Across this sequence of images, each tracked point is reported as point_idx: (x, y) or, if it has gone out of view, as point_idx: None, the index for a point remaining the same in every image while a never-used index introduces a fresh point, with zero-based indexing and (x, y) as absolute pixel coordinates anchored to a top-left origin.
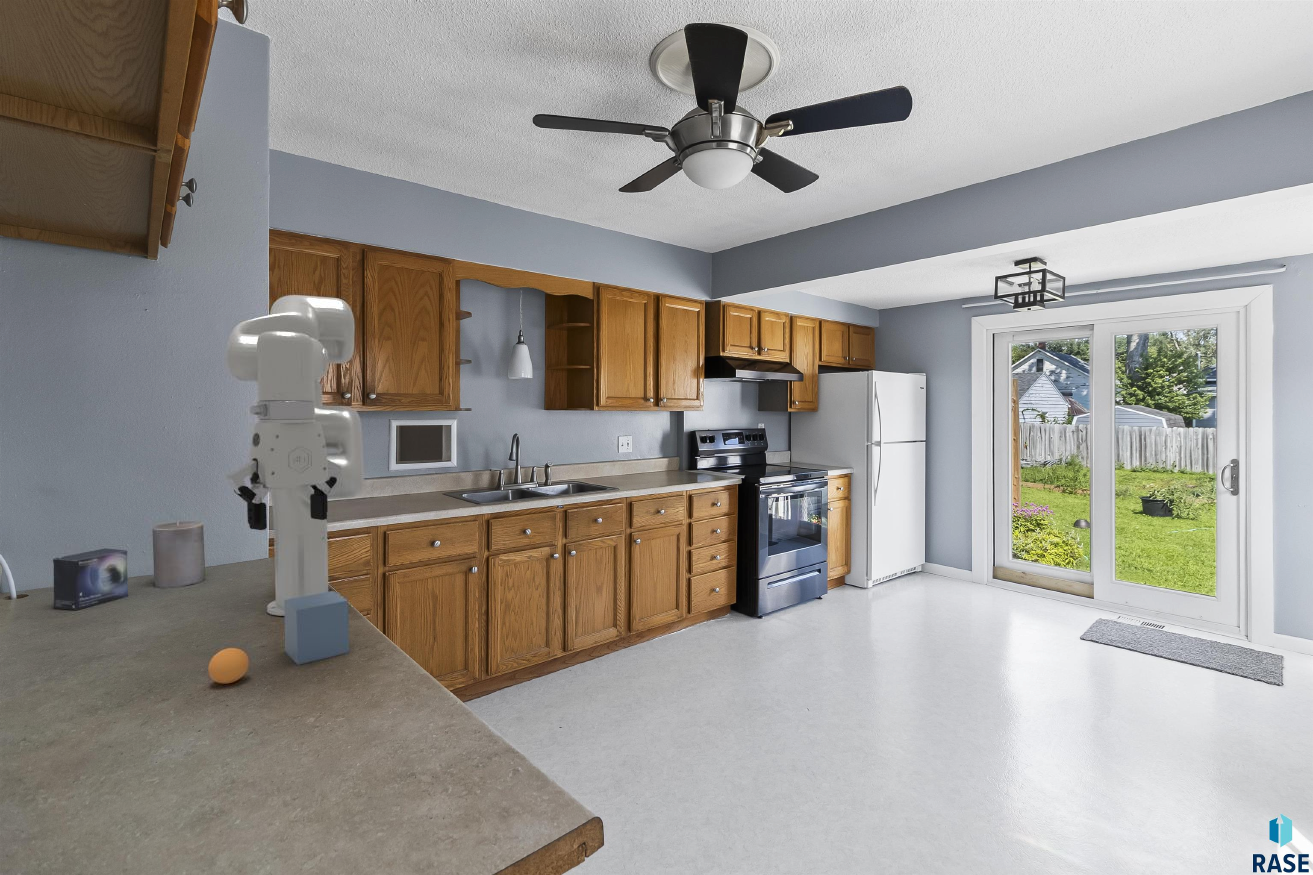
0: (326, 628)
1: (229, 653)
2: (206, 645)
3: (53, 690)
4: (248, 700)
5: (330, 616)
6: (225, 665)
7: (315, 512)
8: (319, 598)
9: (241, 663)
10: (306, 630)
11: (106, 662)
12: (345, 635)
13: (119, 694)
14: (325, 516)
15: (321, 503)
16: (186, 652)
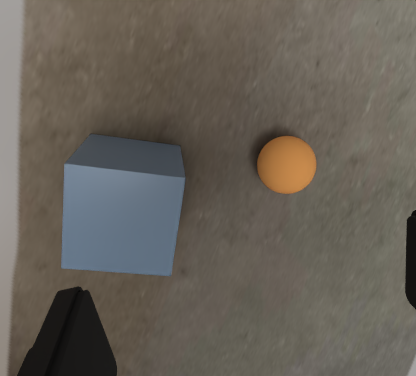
0: (125, 154)
1: (299, 158)
2: (236, 330)
3: None
4: (292, 54)
5: (113, 159)
6: (304, 143)
7: (100, 362)
8: (110, 231)
9: (279, 141)
10: (165, 159)
11: (338, 349)
12: (90, 142)
13: (375, 225)
14: (65, 295)
15: (63, 370)
16: (265, 320)
